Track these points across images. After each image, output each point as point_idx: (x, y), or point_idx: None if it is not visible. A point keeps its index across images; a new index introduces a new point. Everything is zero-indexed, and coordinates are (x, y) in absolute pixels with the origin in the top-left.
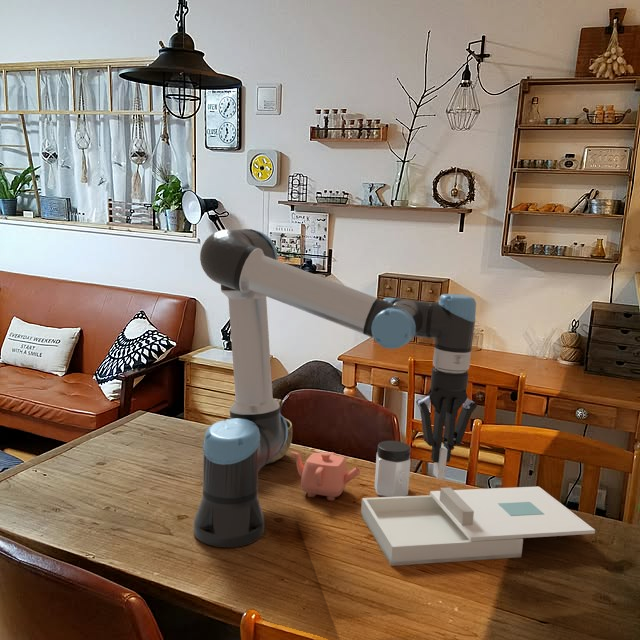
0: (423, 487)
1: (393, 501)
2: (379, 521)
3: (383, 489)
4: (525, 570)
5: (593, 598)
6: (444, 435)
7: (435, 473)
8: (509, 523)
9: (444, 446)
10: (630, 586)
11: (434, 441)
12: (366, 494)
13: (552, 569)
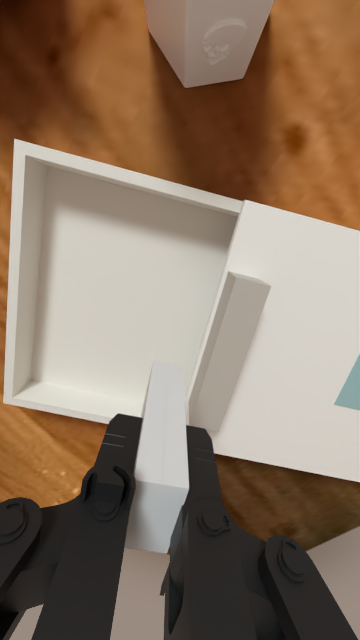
0: (335, 31)
1: (120, 181)
2: (15, 299)
3: (159, 35)
4: (242, 459)
5: (273, 528)
6: (186, 621)
7: (147, 388)
8: (299, 427)
9: (178, 518)
10: (348, 527)
11: (45, 598)
12: (116, 9)
13: (285, 470)
